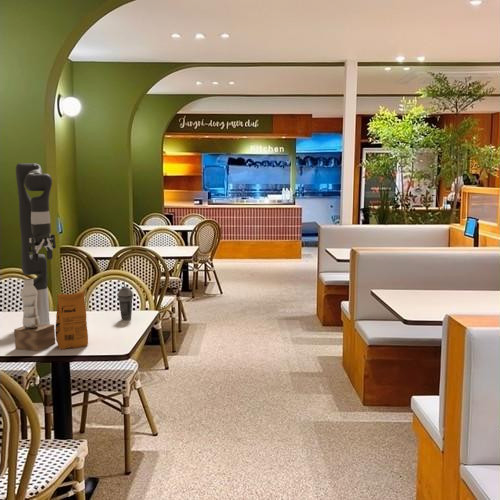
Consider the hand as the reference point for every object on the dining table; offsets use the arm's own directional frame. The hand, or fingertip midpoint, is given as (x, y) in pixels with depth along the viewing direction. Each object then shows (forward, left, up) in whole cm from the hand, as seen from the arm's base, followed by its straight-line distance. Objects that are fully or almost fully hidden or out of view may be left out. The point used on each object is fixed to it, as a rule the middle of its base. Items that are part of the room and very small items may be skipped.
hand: (43, 260), depth 251 cm
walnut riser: (+1, -9, -34) cm, 35 cm away
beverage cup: (+13, +42, -34) cm, 56 cm away
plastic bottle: (+1, -11, -26) cm, 28 cm away
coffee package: (+15, -4, -34) cm, 38 cm away
